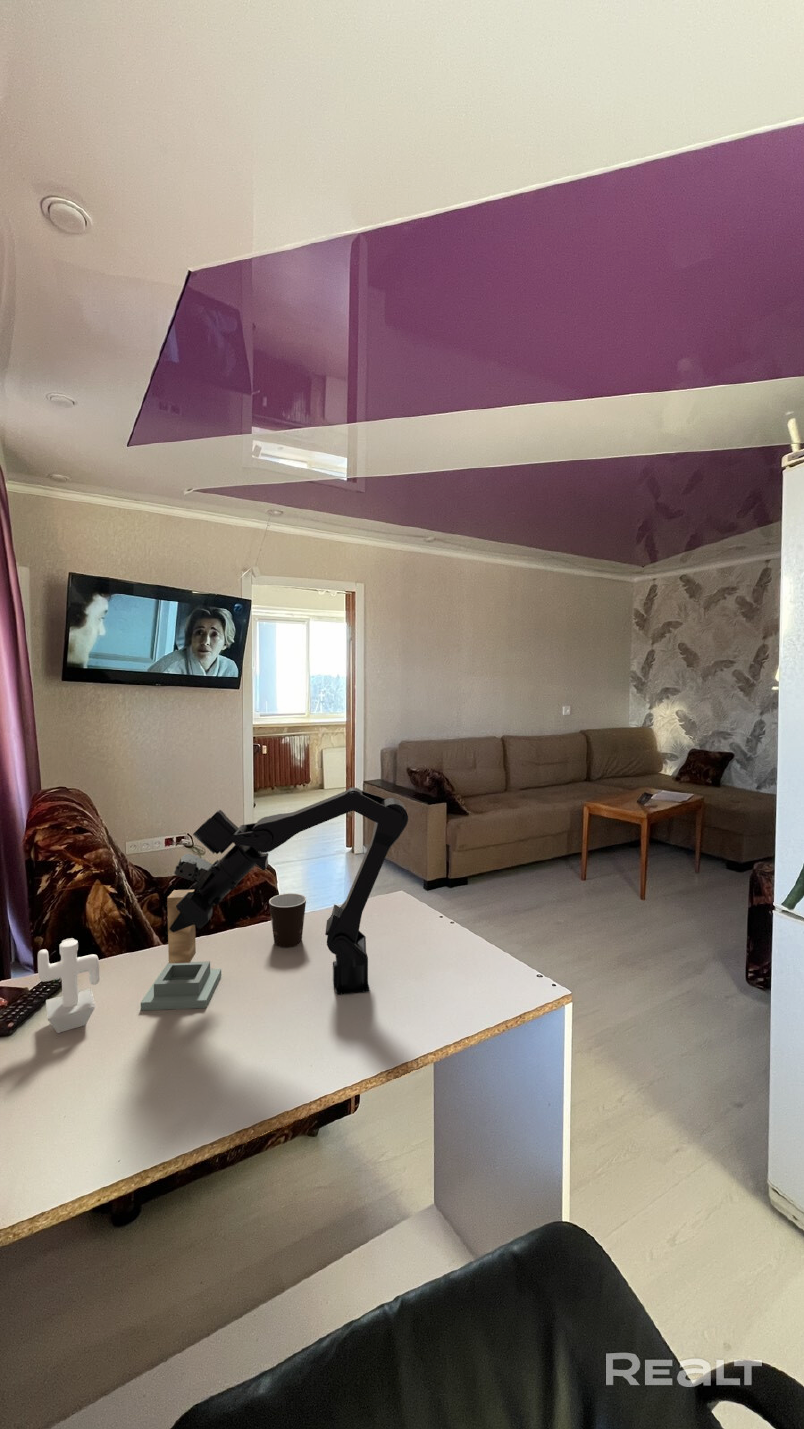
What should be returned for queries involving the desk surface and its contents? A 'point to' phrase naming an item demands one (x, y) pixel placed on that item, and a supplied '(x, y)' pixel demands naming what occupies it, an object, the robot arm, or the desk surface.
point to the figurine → (69, 986)
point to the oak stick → (179, 932)
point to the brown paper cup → (287, 919)
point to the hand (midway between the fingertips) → (174, 925)
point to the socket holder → (182, 987)
